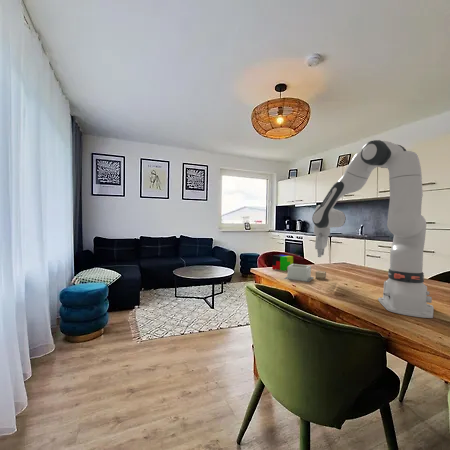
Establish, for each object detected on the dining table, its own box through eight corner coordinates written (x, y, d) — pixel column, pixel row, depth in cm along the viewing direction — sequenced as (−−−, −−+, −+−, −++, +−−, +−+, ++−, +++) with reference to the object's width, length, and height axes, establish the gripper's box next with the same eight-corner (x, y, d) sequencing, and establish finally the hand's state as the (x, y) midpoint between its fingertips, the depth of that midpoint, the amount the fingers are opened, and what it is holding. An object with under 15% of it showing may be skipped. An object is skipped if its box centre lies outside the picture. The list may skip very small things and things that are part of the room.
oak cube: (324, 281, 143) (324, 273, 143) (315, 280, 145) (315, 272, 145) (325, 280, 147) (326, 271, 147) (316, 279, 150) (317, 270, 150)
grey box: (306, 281, 139) (307, 268, 139) (287, 278, 144) (287, 266, 144) (310, 277, 148) (310, 265, 148) (292, 275, 154) (292, 263, 154)
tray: (309, 283, 137) (309, 282, 137) (283, 280, 144) (283, 278, 144) (313, 278, 149) (313, 277, 149) (290, 276, 156) (290, 274, 156)
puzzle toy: (281, 268, 182) (281, 254, 182) (292, 270, 174) (293, 256, 174) (272, 269, 176) (272, 255, 175) (284, 272, 168) (284, 257, 168)
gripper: (325, 233, 135) (324, 258, 136) (329, 232, 153) (328, 254, 154) (312, 232, 138) (311, 257, 139) (318, 231, 156) (317, 253, 157)
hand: (320, 256), depth 146 cm, fingers open, 8 cm apart
